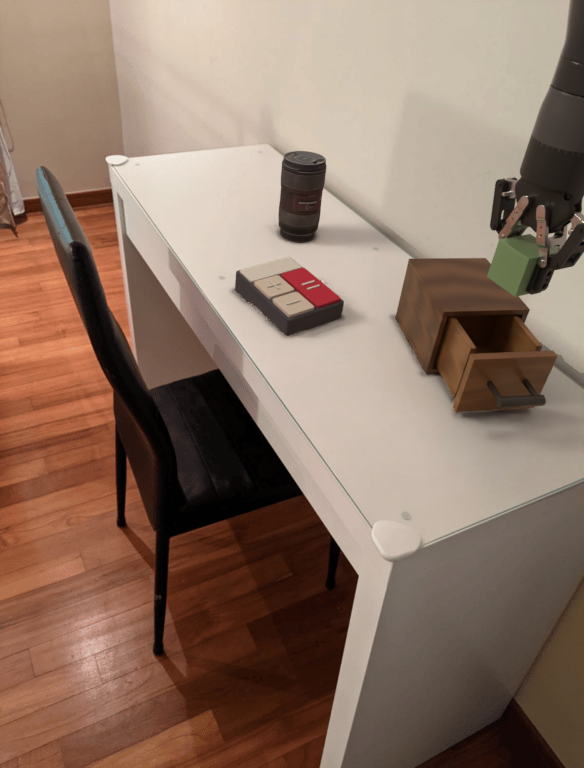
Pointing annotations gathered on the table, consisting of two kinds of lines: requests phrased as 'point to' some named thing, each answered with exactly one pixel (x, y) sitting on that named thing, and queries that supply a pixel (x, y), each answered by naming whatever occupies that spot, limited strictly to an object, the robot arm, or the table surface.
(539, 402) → the drawer
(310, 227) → the camera lens
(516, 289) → the block
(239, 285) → the calculator
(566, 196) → the robot arm
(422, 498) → the table surface
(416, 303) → the cabinet
